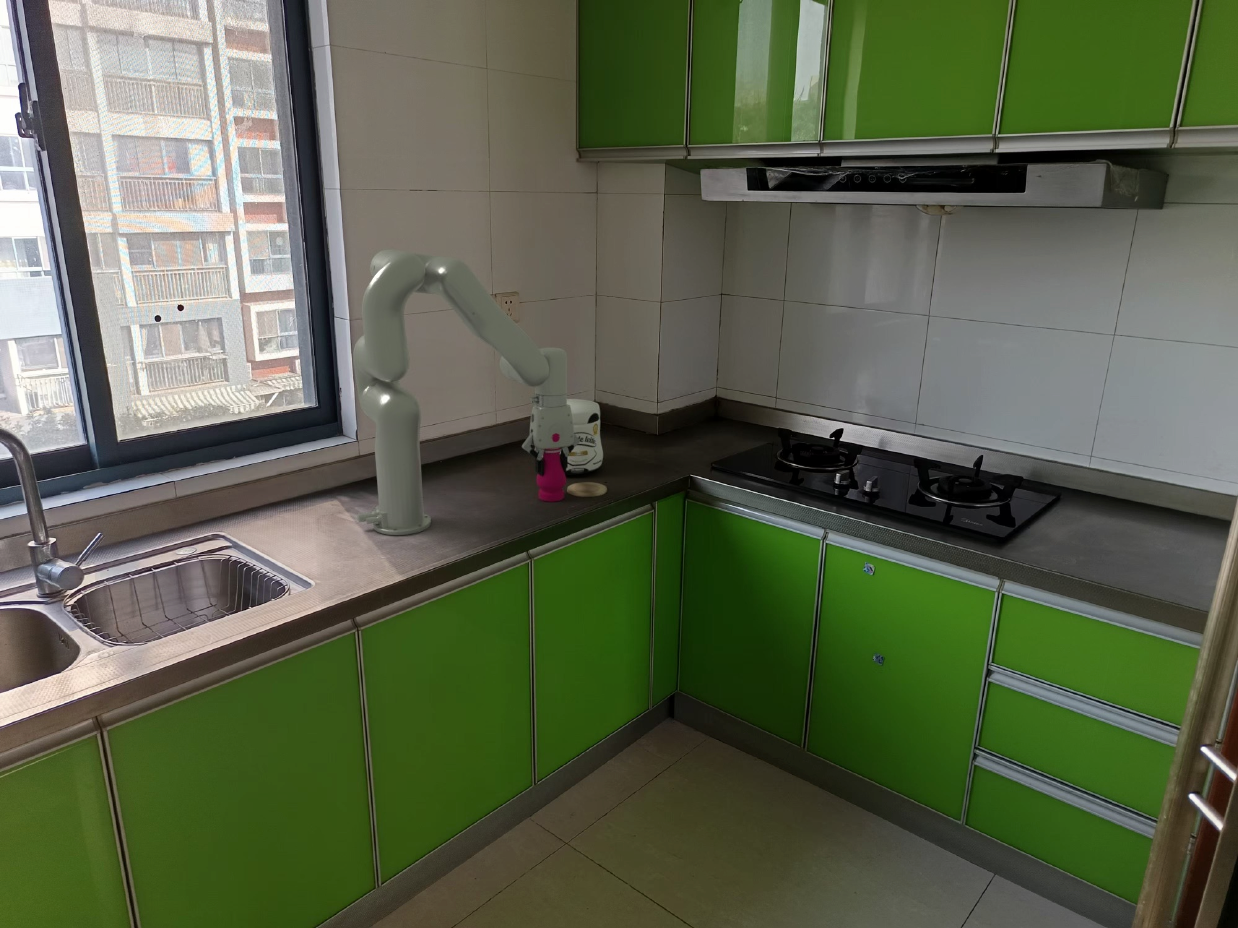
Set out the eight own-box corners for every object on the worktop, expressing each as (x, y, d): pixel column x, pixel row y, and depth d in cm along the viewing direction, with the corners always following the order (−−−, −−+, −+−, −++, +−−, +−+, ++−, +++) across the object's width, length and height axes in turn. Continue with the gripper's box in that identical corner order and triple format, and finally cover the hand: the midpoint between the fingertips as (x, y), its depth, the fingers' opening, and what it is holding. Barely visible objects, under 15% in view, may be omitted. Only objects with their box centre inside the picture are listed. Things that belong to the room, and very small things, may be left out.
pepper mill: (571, 496, 220) (571, 417, 214) (555, 504, 214) (554, 423, 208) (547, 491, 223) (547, 413, 218) (530, 498, 218) (529, 419, 212)
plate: (577, 499, 218) (577, 496, 218) (560, 487, 226) (560, 485, 226) (613, 493, 222) (613, 491, 222) (595, 482, 231) (595, 479, 231)
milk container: (575, 483, 230) (575, 416, 224) (525, 471, 240) (524, 406, 234) (615, 468, 243) (616, 404, 238) (567, 457, 253) (567, 395, 248)
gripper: (523, 406, 205) (524, 481, 210) (590, 400, 212) (589, 472, 218) (511, 400, 211) (513, 473, 216) (576, 394, 219) (576, 464, 224)
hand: (551, 472), depth 217 cm, fingers closed on pepper mill, 5 cm apart
